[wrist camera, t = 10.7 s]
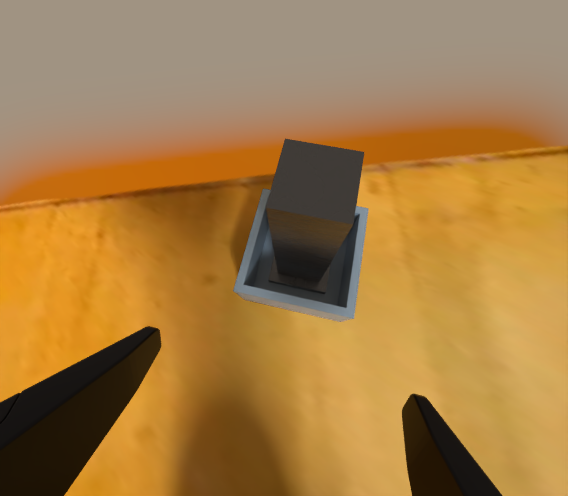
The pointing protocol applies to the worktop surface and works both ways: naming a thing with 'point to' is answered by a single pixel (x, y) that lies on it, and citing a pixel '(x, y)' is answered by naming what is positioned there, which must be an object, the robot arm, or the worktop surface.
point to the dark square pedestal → (311, 211)
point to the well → (329, 305)
